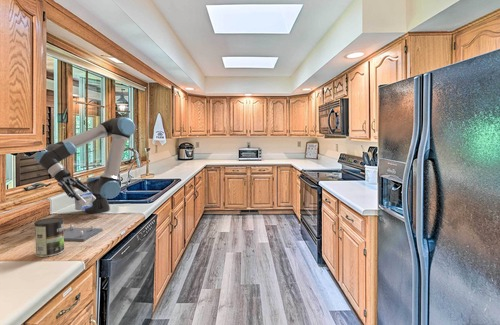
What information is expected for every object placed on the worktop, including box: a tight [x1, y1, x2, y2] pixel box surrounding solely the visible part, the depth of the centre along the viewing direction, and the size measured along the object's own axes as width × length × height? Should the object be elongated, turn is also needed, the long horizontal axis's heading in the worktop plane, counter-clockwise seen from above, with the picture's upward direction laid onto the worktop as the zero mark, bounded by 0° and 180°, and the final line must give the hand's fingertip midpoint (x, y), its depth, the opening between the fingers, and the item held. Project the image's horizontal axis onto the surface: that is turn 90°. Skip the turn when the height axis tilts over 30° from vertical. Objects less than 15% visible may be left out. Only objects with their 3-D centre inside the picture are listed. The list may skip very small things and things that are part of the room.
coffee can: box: [33, 217, 65, 258], centre depth 125 cm, size 10×10×14 cm
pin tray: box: [63, 224, 104, 242], centre depth 148 cm, size 16×18×4 cm
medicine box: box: [74, 192, 92, 211], centre depth 161 cm, size 8×4×9 cm, turn 169°
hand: (89, 201), depth 161 cm, fingers closed on medicine box, 8 cm apart
